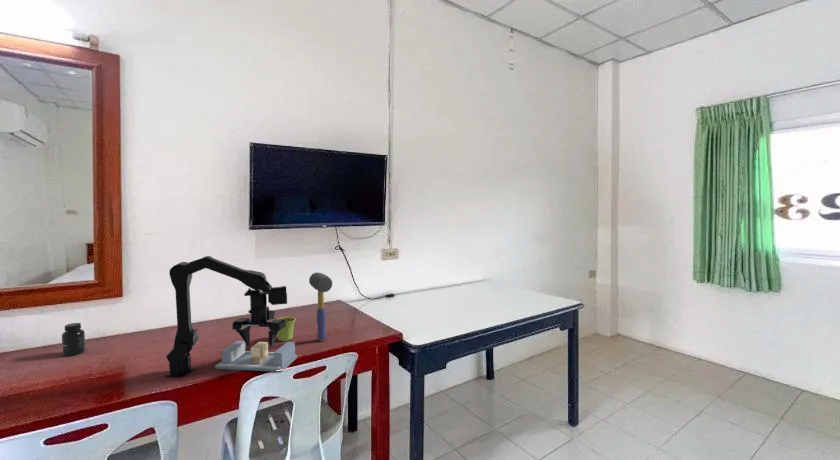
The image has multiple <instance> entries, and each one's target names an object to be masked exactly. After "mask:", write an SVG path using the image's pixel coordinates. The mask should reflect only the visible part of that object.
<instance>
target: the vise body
mask: <svg viewBox="0 0 840 460" xmlns="http://www.w3.org/2000/svg"><path fill="white" fill-rule="evenodd" d="M295 343H296V341H287V342H285V343H284V344H283V345H281V346H280V347H279V348H278V349H277V350H275V351H268V358H267V359H265V360H264V361H263V362H262V363H260V364H254V363H251V350H245V351H246V353H245V354H243V355H242V356H241V357H239V358H238V359H236V360H235V361H233V362H232V363H231V364H222V360H221V361H220V362H219V363H217V364H216V365H214V369H216V370H236V371H256V372H257V371H258V372H259V371H260V372H274V371H276V370H280V369H284V368H286V369H287V368H288V367H289V366H290V365H291V364H292V363H293V362H294V361H295V360H296V359H297V358H298V357H297V356H298V354H296V344H295Z"/></svg>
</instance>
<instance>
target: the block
mask: <svg viewBox="0 0 840 460" xmlns="http://www.w3.org/2000/svg"><path fill="white" fill-rule="evenodd" d="M250 351H251V363H254V364H260V363H262V362H263V361H264V360H265V359H267V358H268V352H269V342H268V341H258V342H257V343H256V344H254V345H252V346H251V347H250Z"/></svg>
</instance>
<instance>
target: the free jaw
mask: <svg viewBox="0 0 840 460" xmlns="http://www.w3.org/2000/svg"><path fill="white" fill-rule="evenodd" d="M246 351H247V350H246V343H245V341H244V340H236V341H234V342H233V343H231V344H230V345H228V346H227V347H225V348H224V349H222V350H221V361H222V364H231V363H232V362H233V361H235V360H236V359H238V358H239V357H241V356H242V355H243V354H245V353H246Z"/></svg>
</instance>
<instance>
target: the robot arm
mask: <svg viewBox="0 0 840 460" xmlns="http://www.w3.org/2000/svg"><path fill="white" fill-rule="evenodd" d="M205 269H208V270H209V271H210V270H211V271H212V272H216V273H217V274H218V273H219V274H221V275H224V276H226V277H229V278H232V279H235V280H236V281H237V280H238V281H239V282H241V283H242V284H244V285H245V286H246V287H248V289H247V290H246V291H245V292H244V294H243V296H244V297H249V303H250V305H249V306H250V309H249V310H248V314H250V318H248V317H247V318H246V317H240V318H238V319H236V320H234V321H233V322H232V324H231V328H232V330H235V332H237V333H238V334H239V336H240V337H241V338H242V341H245V346H247V347H250V344H251V335H250V330H251V327H256V328H257V327H258V328H259V327H262V328H263V327H264V328H268V329H269V330H268V340H269V342H268V344H269V347H270V348H272V347H273V346H274V343H275V340H276V338H277V333H278V331H280V330H281V329H282V328H284V327H285V326H286V321H285V320H284V319H278V318H275V314H276V311H275V310H270V307H269V306H268V304H270V305H271V306H276V305H287V304H288V293H287V286H286V285H282V286H273V287H272V285H271V284H270V283H269V281H268V280H267V276H266V275H265V273H264V272H261V271H256V270H250V269H249V270H248V269H243V268H241V267H238V266H236V265H233V264H230V263H228V262H225V261H222V260H219V259H217V258H215V257H212V256H210V255H206V256H204V257H202V258H199V259H195V260H192V261H190V262H187V261H181V262H179V263H177V264H174V265H173V266H171V268H170V269H169V273H168V274H169V278H170V281H171V283H172V286H173V288H174V290H175V305H176V306H175V308H176V323H177V324H176V325H177V326H176V327H177V330H176V333H175V337H174V341H173V347H172V349H171V350H170V351H169V352H168V354H167V355H166V360H167V361H168V366H169V368H168V369H169V372H168V373H166V374H165V377H174V378H182V377H184V376H187V374H189V373H191V372H193V371H194V370H195V367H192V361H191V360H192V357H191V351H192V350H193V348H194V347H195V345H196V344H197V342H198V341H199V338H200V337H199V335H198V331H199V328H194V327H193V325H192V309H191V291H190V290H191V289H190V287H191V283H192V279H193V274H195V273H197V272H199V271H202V270H205ZM267 302H268V303H267ZM271 320H272V321H271Z"/></svg>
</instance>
